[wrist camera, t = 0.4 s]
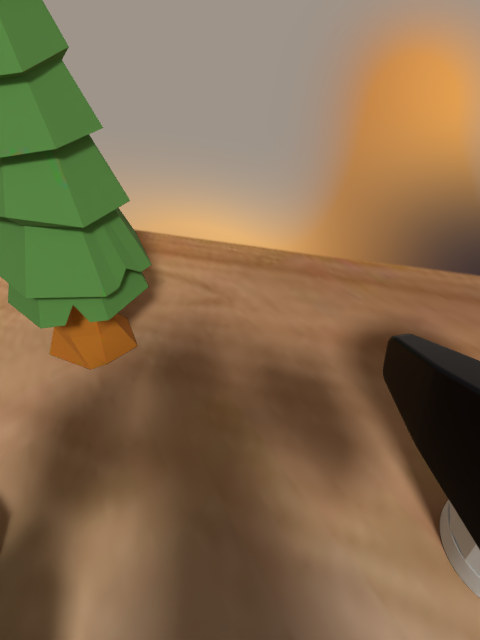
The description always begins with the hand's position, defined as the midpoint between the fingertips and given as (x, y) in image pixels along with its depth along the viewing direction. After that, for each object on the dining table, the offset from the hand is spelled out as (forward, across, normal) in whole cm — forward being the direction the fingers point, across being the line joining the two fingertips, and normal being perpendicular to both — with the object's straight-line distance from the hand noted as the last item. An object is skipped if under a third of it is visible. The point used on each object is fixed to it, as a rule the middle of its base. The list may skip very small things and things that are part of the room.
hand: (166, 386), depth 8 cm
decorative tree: (+22, +5, +13) cm, 26 cm away
